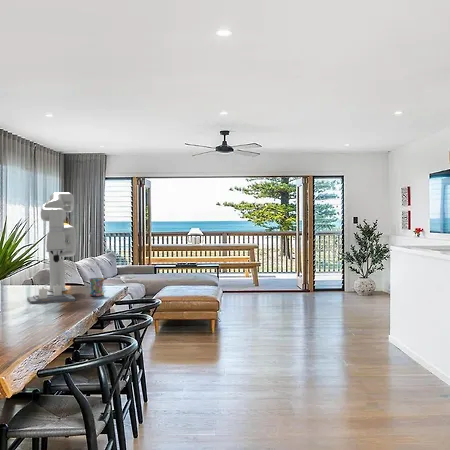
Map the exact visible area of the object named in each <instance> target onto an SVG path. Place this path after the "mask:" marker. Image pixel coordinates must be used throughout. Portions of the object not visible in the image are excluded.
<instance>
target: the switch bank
mask: <svg viewBox="0 0 450 450" xmlns="http://www.w3.org/2000/svg"><path fill="white" fill-rule="evenodd" d="M26 300H27V301H28V303H29V304H30V305H36V304H37V305H38V304H49V303H50V304H51V303H52V304H54V303H64V302H65V303H66V302H76V297H75V296H73V295H71V294H69V293H67V294H66V293H62V295H58V296H54V293H53V294H47V298H42V299H39V294H38V295H33V296H27V298H26Z"/></svg>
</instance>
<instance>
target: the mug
mask: <svg viewBox="0 0 450 450" xmlns="http://www.w3.org/2000/svg"><path fill="white" fill-rule="evenodd" d="M88 281H89V283H90V292H89V296H91V297H102V296H104V295H105V294H104V289H103V284H104V281H105V278H104V277H90V278H88Z"/></svg>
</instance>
